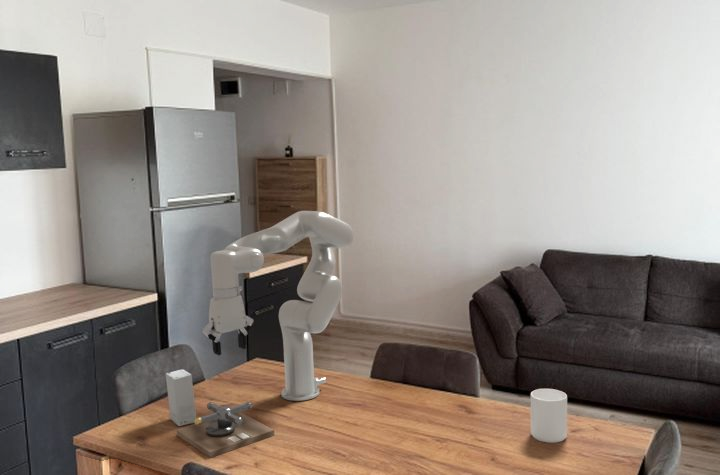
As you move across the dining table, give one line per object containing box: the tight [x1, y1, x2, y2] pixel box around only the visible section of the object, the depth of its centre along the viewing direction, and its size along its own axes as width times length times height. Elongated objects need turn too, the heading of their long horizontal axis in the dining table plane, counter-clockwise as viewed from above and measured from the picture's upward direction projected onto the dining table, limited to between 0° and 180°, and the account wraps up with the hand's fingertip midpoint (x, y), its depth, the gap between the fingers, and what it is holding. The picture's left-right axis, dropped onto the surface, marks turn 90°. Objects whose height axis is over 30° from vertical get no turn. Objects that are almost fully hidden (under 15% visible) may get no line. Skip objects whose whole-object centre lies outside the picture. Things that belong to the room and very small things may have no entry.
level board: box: [176, 411, 275, 458], centre depth 189 cm, size 20×20×2 cm
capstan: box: [193, 401, 253, 437], centre depth 188 cm, size 18×18×6 cm
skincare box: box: [165, 369, 197, 427], centre depth 200 cm, size 8×6×15 cm
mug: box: [530, 388, 568, 444], centre depth 181 cm, size 10×12×12 cm
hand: (230, 350), depth 196 cm, fingers open, 7 cm apart
